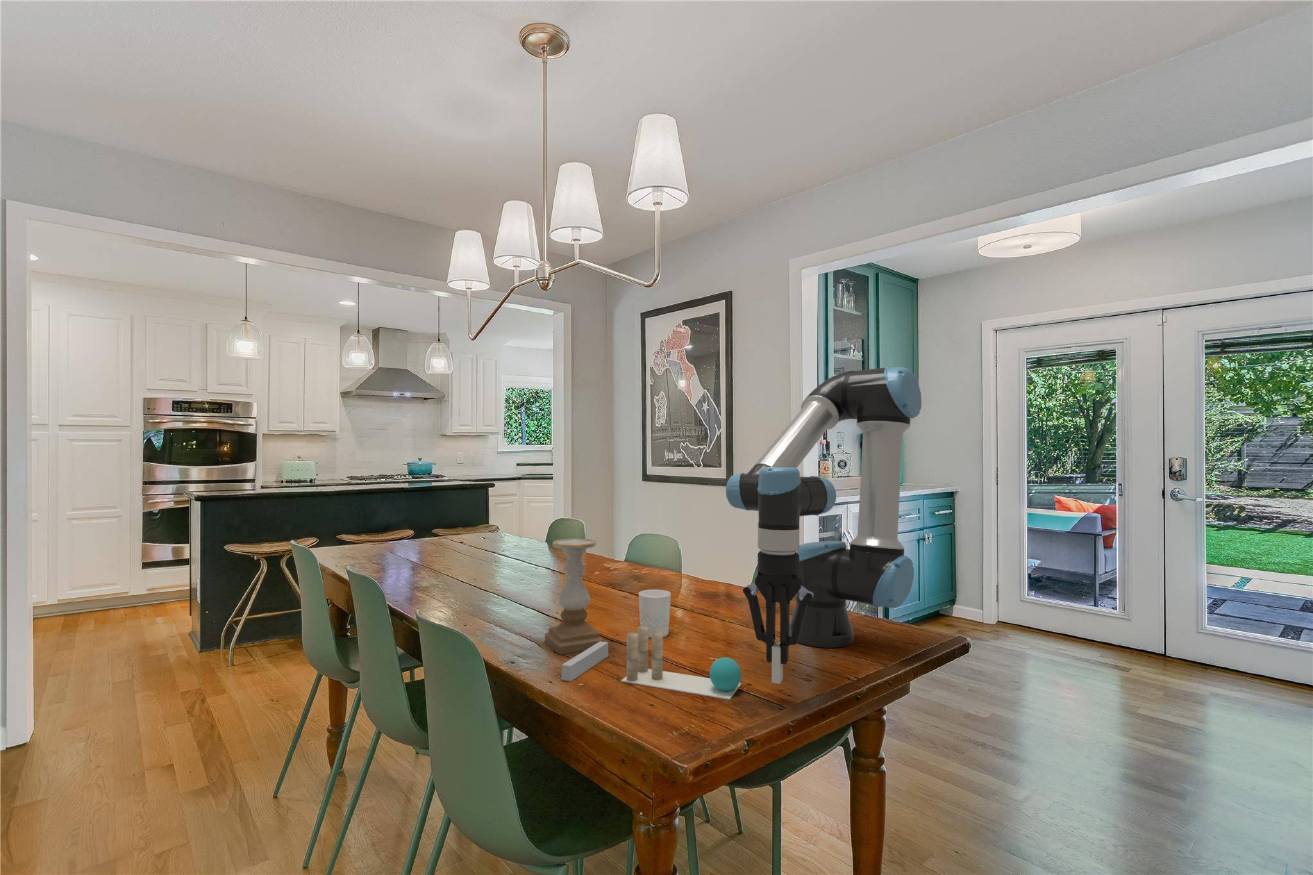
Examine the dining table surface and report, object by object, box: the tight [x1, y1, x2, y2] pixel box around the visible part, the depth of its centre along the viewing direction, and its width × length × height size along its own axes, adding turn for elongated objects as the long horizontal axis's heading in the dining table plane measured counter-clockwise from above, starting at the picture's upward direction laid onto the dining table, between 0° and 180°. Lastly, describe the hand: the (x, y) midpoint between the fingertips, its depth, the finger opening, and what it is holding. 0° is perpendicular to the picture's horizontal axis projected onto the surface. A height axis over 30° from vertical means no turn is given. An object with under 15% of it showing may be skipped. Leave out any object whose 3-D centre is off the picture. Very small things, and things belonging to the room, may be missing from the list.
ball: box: [709, 656, 742, 691], centre depth 118 cm, size 6×6×6 cm
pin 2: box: [636, 625, 649, 673], centre depth 127 cm, size 2×2×9 cm
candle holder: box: [544, 538, 605, 656], centre depth 144 cm, size 11×11×24 cm
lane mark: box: [620, 668, 742, 700], centre depth 121 cm, size 22×8×1 cm, turn 67°
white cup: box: [638, 589, 672, 639], centre depth 153 cm, size 8×8×10 cm
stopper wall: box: [561, 641, 609, 682], centre depth 129 cm, size 2×16×3 cm, turn 157°
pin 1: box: [626, 632, 638, 681], centre depth 122 cm, size 2×2×9 cm
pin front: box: [651, 632, 664, 680], centre depth 123 cm, size 2×2×9 cm
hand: (777, 680), depth 114 cm, fingers closed
